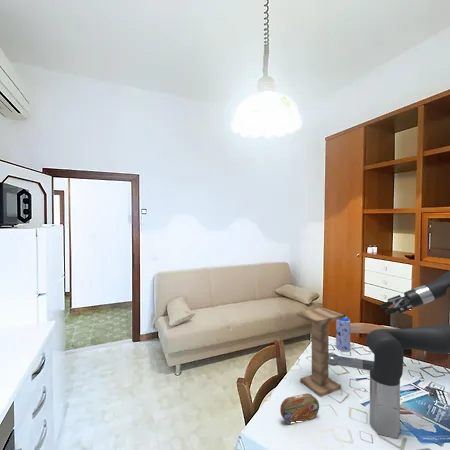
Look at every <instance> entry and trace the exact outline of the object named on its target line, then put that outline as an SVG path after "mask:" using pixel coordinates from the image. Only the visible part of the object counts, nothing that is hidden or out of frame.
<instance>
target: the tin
mask: <svg viewBox="0 0 450 450" xmlns="http://www.w3.org/2000/svg"><path fill="white" fill-rule="evenodd" d="M319 408H320V403H319V401H318V399H317V398H316V396H314V395H312V394H310V393H307V392H306V393H302V394H298V395H292V396H289V397H287V398H285V399H283V401H282V402H281V404H280V408H279V409H280V410H279V411H280V415H281V417H282V419H283V420H284V422H285V423H286V424H288V425H290V424H289V423H291V422H296V421H303V422H306V420H308V421H311V420H313V419H314V418H315V417H317V415H318V413H319V410H320V409H319Z"/></svg>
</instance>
